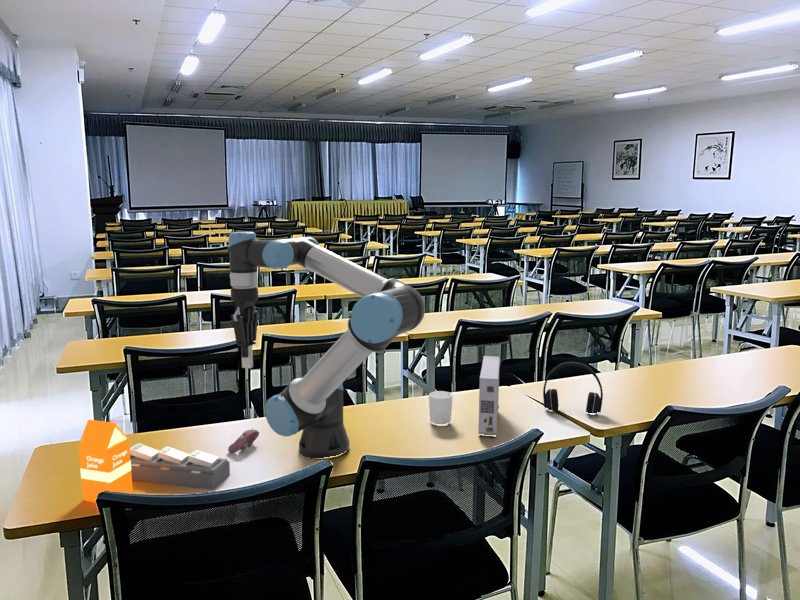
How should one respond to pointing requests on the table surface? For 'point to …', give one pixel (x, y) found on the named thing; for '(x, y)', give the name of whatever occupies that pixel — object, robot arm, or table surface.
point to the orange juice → (104, 460)
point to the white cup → (440, 407)
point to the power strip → (179, 472)
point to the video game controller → (244, 441)
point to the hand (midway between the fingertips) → (247, 367)
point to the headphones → (593, 398)
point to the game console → (489, 395)
